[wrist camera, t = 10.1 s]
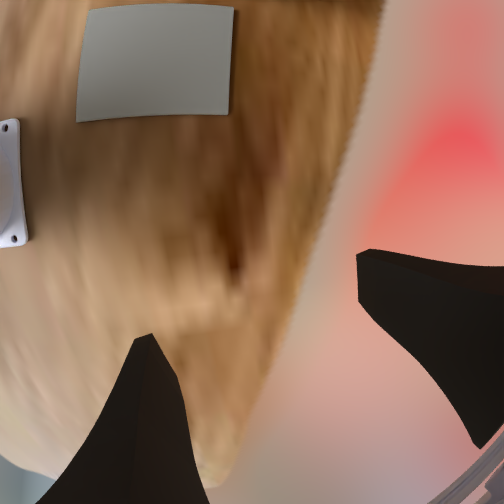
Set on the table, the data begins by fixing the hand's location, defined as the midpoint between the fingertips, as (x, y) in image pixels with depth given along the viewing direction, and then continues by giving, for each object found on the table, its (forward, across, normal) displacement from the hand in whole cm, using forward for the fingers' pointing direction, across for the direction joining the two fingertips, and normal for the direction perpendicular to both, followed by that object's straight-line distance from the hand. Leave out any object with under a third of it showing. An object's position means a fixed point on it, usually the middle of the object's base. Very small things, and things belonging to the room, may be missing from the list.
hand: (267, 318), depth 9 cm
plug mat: (+10, 0, -11) cm, 15 cm away
